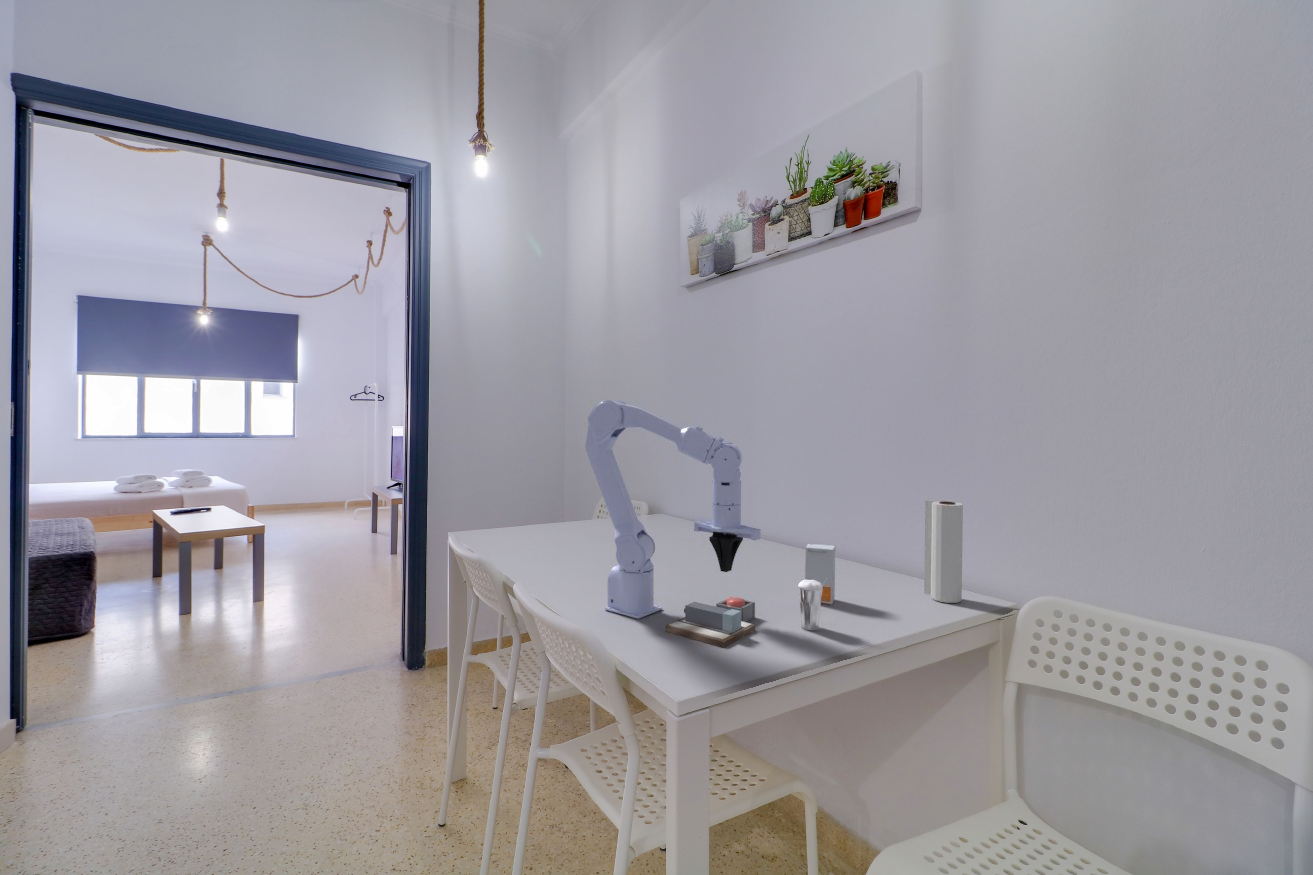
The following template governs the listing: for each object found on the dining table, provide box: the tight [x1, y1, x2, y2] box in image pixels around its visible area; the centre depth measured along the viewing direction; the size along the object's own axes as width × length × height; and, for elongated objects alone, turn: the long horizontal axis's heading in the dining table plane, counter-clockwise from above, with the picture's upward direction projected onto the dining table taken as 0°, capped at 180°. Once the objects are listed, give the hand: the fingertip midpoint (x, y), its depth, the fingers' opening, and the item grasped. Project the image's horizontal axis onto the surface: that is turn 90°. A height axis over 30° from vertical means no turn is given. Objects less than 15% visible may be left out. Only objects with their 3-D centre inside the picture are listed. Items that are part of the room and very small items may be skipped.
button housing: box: [715, 596, 756, 623], centre depth 121 cm, size 6×6×3 cm
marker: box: [683, 601, 741, 633], centre depth 114 cm, size 12×3×3 cm, turn 51°
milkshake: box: [797, 578, 827, 632], centre depth 114 cm, size 4×5×10 cm
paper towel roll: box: [923, 500, 964, 604], centre depth 132 cm, size 7×6×21 cm
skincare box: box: [804, 543, 837, 605], centre depth 131 cm, size 6×4×12 cm
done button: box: [726, 597, 746, 608], centre depth 121 cm, size 4×4×3 cm
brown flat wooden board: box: [664, 616, 756, 649], centre depth 114 cm, size 13×11×1 cm
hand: (726, 570), depth 121 cm, fingers closed
